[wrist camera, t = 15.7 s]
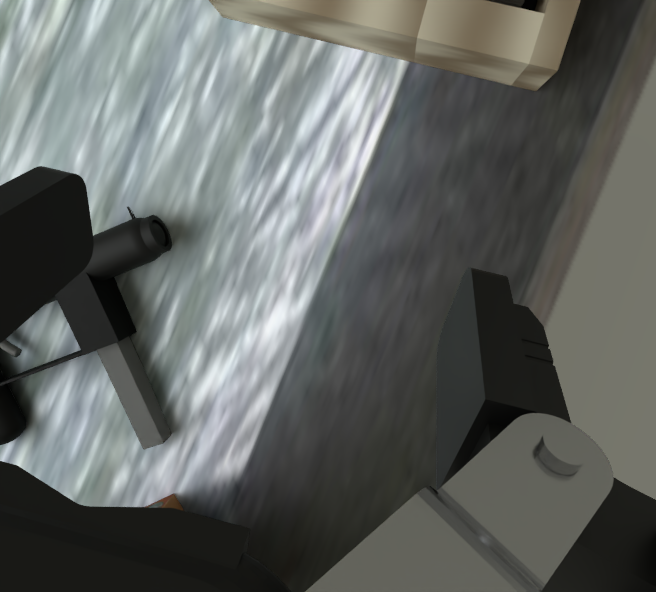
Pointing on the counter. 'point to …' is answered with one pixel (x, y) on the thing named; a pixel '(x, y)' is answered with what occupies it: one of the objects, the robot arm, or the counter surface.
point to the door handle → (105, 328)
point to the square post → (509, 2)
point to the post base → (430, 32)
